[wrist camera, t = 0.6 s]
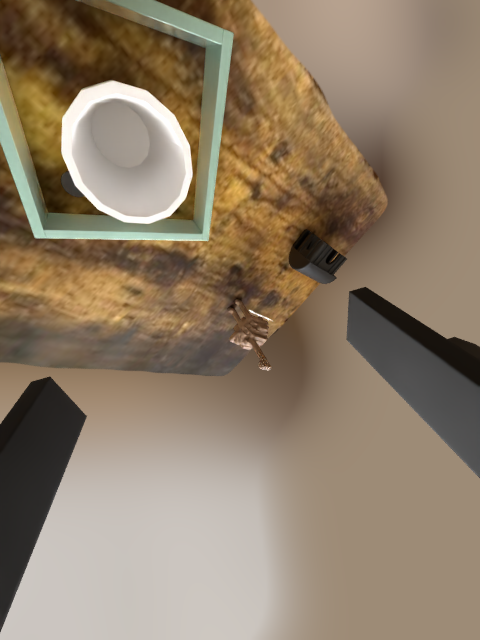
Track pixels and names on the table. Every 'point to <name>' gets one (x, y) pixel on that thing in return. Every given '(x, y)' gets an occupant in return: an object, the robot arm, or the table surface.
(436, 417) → the robot arm
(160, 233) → the square frame
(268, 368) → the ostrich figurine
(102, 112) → the foam cup
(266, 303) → the table surface
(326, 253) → the end cap
